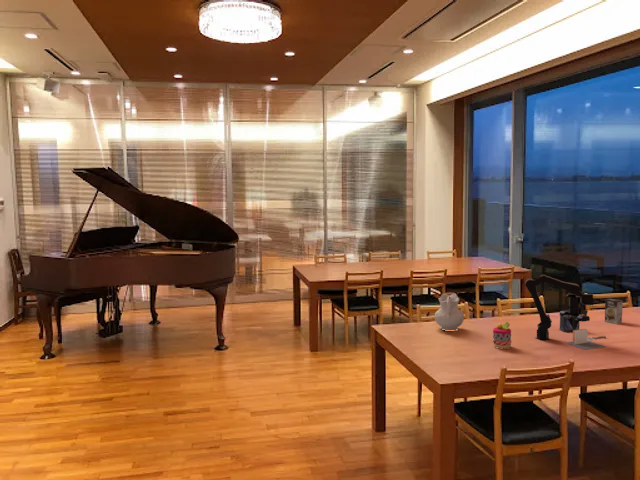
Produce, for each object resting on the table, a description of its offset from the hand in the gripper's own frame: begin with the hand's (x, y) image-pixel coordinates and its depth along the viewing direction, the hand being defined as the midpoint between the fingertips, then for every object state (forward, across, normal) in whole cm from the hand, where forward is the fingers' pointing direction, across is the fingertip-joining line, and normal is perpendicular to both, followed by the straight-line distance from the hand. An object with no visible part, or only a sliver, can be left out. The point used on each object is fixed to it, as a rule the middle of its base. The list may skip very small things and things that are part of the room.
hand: (574, 329), depth 326 cm
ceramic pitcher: (+8, +54, +54) cm, 77 cm away
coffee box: (+8, +26, -58) cm, 64 cm away
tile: (+7, -5, 0) cm, 9 cm away
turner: (+8, -1, -15) cm, 17 cm away
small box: (+8, +21, -16) cm, 28 cm away
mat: (+8, -9, 0) cm, 12 cm away
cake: (+8, +8, +46) cm, 47 cm away
